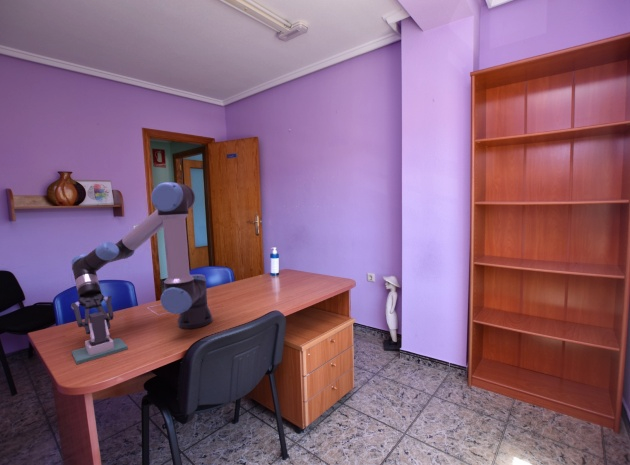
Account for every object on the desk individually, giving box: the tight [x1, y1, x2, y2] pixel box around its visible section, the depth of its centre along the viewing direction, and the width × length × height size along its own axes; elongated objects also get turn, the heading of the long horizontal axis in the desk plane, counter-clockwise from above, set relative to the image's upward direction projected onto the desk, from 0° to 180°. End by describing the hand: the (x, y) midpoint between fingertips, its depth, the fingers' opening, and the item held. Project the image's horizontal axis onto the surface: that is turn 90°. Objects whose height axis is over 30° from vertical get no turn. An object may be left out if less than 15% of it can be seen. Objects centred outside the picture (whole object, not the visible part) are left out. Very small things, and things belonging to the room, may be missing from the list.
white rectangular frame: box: [146, 303, 169, 316], centre depth 172 cm, size 11×1×18 cm
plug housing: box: [89, 311, 107, 346], centre depth 121 cm, size 4×5×12 cm
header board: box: [71, 336, 129, 365], centre depth 121 cm, size 16×12×4 cm
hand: (100, 338), depth 118 cm, fingers closed on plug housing, 4 cm apart
